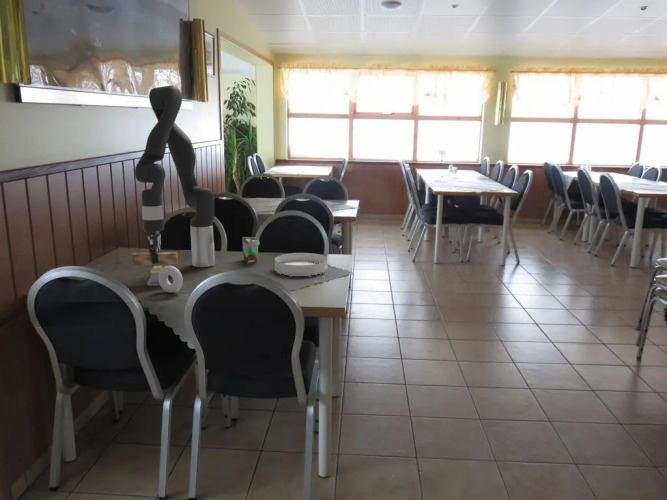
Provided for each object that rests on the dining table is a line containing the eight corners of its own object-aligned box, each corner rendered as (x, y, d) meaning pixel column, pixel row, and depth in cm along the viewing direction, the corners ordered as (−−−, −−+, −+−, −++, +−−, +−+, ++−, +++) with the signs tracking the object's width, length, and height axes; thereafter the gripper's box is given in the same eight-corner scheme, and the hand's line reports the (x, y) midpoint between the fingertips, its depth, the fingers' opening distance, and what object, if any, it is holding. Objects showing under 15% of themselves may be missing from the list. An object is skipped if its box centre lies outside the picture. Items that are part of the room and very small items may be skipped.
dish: (312, 280, 216) (312, 267, 215) (264, 273, 225) (264, 261, 224) (336, 267, 235) (336, 255, 234) (290, 261, 244) (290, 250, 243)
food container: (263, 263, 239) (262, 241, 237) (249, 265, 237) (248, 242, 235) (256, 257, 250) (255, 236, 248) (242, 258, 248) (242, 236, 246)
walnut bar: (178, 261, 212) (177, 251, 211) (176, 264, 208) (176, 253, 208) (134, 262, 210) (134, 252, 209) (132, 265, 206) (132, 254, 205)
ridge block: (167, 279, 215) (166, 265, 214) (164, 285, 207) (163, 270, 206) (151, 279, 214) (150, 266, 213) (147, 285, 206) (146, 271, 205)
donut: (185, 293, 198) (184, 266, 196) (179, 295, 195) (177, 268, 192) (163, 289, 202) (161, 263, 199) (157, 292, 199) (155, 265, 196)
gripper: (160, 220, 199) (163, 266, 203) (166, 214, 212) (169, 257, 216) (138, 220, 198) (142, 267, 202) (146, 214, 211) (149, 258, 215)
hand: (156, 262), depth 209 cm, fingers closed on walnut bar, 3 cm apart
